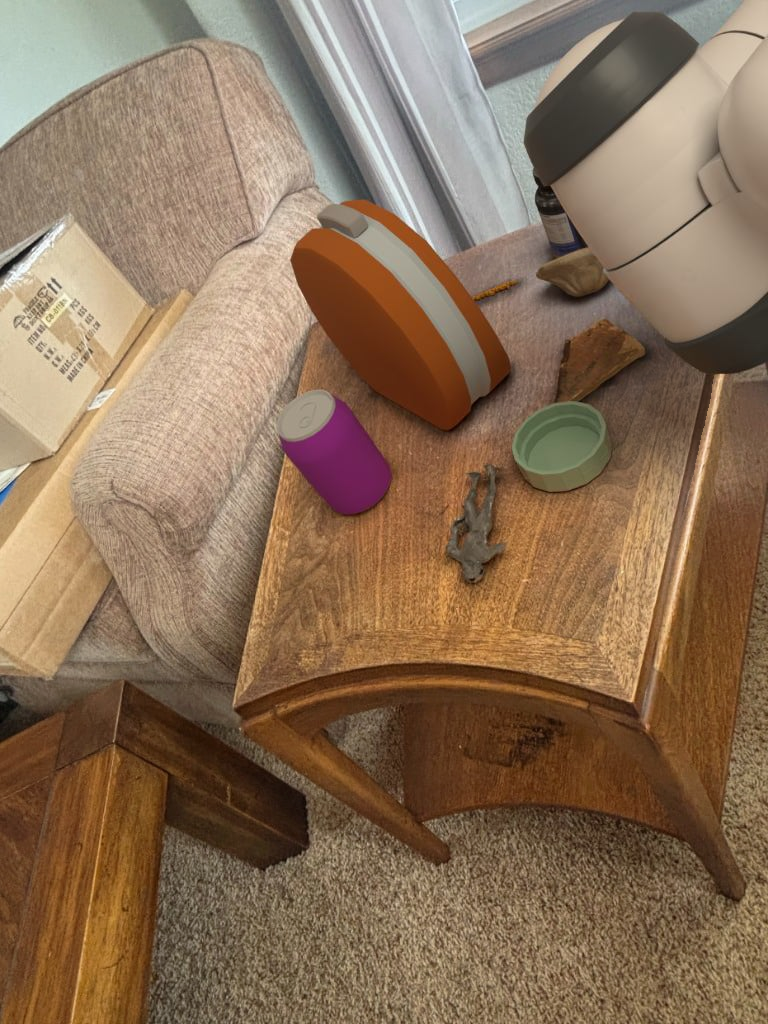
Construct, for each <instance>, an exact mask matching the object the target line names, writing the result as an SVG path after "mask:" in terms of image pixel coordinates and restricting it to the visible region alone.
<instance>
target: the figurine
mask: <svg viewBox="0 0 768 1024" xmlns="http://www.w3.org/2000/svg"><path fill="white" fill-rule="evenodd" d="M482 465H483V469H485V471H486V472H487V474H488V476H489V477H488V478H482V480H483V481H489V485H488V490H487V492H486V495H485V496H484V500H483V503H482V506H481V508H480V509H479V508H478V507H477V504H476V499H477V497H478V495H479V492H477V486H478V481H479V479H480V478H481V477H480V476H481V473H480V472H479V471H473V472H463V475H464V476H468V477H469V478H470V480H471V487H470V488H469V490H468V493H467V495H466V497H465V499H464V501H463V503H462V501H461V500H460V501H459V502H460V503H461V508H462V509H463V512H462V513H461V512H460V516H459V517H454V518H453V523H452V524H451V525H450V527H449V531H450V537H449V539H448V540H447V542H448V543H447V544H445V548H446V550H445V554H448V556H449V557H451V559H455V560H456V561H458V562H460V563H461V570H462V571H461V572H462V576H461V577H462V579H463V580H464V581H466V582H468V583H470V584H476V583H478V582H480V581H481V580H482V579H483V578H484V573H485V567H484V565H482V564H485V563H488V562H489V561H490V560H492V559H493V558H494V557H495V556H496V555H497V554H498V555H499V554H501V553H502V552H503V551H505V549H506V547H507V542H506V541H501V542H499V543H495V544H492V546H491V547H489V542H488V535H489V534H490V532H491V531H492V529H493V527H494V523H493V518H494V514H493V513H494V510H493V507H494V505H493V504H495V498H496V494H497V485H496V479H497V478H499V477H501V478H502V477H503V476H502V475H496V474H497V472H501V473H502V472H504V471H506V470H507V469H506V468H504V467H503V465H501V466H500V467H499V466H494V465H493V464H491V463H489V462H488V463H487V462H483V463H482ZM460 527H461V528H460ZM466 531H468V532H467V533H466V535H465V537H464V540H463V542H462V545H461V547H460V549H459V535H460V536H462V535H463V534H462V533H465V532H466Z"/></svg>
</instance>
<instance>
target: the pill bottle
mask: <svg viewBox="0 0 768 1024" xmlns="http://www.w3.org/2000/svg"><path fill="white" fill-rule="evenodd" d="M532 176H533V179H534V183H535V185H536V186H537V188H536V191H535V193H534V204H535V207H536V209H537V211H538V215H539V217H540V218H539V219H540V220H541V223H542V226H543V228H544V231H545V235H546V237H547V240H548V244H549V246H550V248H551V252H552V255H553V257H554V260H555V259H557V258H559V257H562V256H564V255H567V254H569V253H572V252H574V251H577V250H580V249H583V248H587V247H588V245H587V244H586V242H585V241H584V239H583V238H582V237H581V235H580V234H579V232H578V231H577V229H576V228H575V226H574V224H573V223H572V221H571V220H570V218H569V216H568V215H567V213H566V212H565V210H564V208H563V207H562V205H561V203H560V201H559V200H558V198H557V196H556V194H555V192H554V191H553V189H552V187H551V185H549V186H543V184H542V182H541V180H540V178H539V177H538V175H537V173H536V171H535V169H534V167H532Z"/></svg>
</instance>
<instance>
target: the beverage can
mask: <svg viewBox="0 0 768 1024" xmlns="http://www.w3.org/2000/svg"><path fill="white" fill-rule="evenodd" d="M276 431H277V433H278V437H279V440H280V444H281V449H282V451H283V452H284V454H285V456H286V457H287V458H288V459H289V461H290V462H291V463H292V464H293V465H294V467H296V469H297V470H298V471H299V472H300V473H301V475H302V476H303V478H305V479H306V481H307V483H309V484H310V485H311V487H313V490H315V491H316V492H317V493H318V496H320V497H321V498H322V499H323V501H324V502H325V503H326V504H327V505H328V506H329V507H330V508H331V509H332V510H334V511H335V512H336V513H339V514H343V515H352V514H353V515H354V514H359V513H362V512H364V511H367V510H369V509H371V508H372V507H373V506H375V505H376V504H377V503H379V501H380V500H382V498H383V497H384V495H385V494H386V492H387V490H388V489H389V487H390V484H391V479H392V470H391V466H390V464H389V462H388V460H387V459H386V458H385V457H384V455H383V453H382V452H381V450H380V448H378V446H377V445H376V443H375V441H373V439H372V438H371V436H370V435H369V433H368V432H367V430H366V429H365V428H364V427H363V425H362V423H361V422H360V420H359V419H358V418H357V416H356V415H355V414H354V412H353V411H352V409H351V408H350V406H349V405H348V403H347V402H345V401H344V400H342V399H340V398H339V397H336V396H335V395H333V394H332V393H330V392H329V391H327V390H325V389H312V390H308V391H306V392H303V393H301V394H299V395H298V396H296V397H295V398H293V399H292V400H291V401H289V403H288V404H286V405H285V407H283V409H282V411H281V413H280V414H279V415H278V419H277V420H276Z"/></svg>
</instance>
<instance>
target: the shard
mask: <svg viewBox="0 0 768 1024" xmlns="http://www.w3.org/2000/svg"><path fill="white" fill-rule="evenodd" d="M645 354H646V348H645V346H643V345H642V343H641V342H640V341H638V340H637V339H635V337H634V336H633V335H632V334H630V333H628V332H627V331H625V330H623V329H622V328H620V327H618V326H617V325H615V324H614V323H612V322H611V321H610V320H609V319H607V318H604V317H603V318H600V319H598V320H597V321H595V322H594V323H593V324H591V325H590V326H589V327H587V328H586V329H584V330H583V331H581V332H579V333H577V334H576V335H574V336H573V337H571V338H567V339H564V344H563V349H562V353H561V355H562V357H561V359H560V364H559V368H558V372H557V379H556V386H555V387H556V388H555V398H554V401H553V404H554V403H559V402H568V401H576V402H580V401H581V400H583V399H584V398H586V397H587V396H589V395H590V394H591V393H592V392H594V391H595V390H596V389H598V387H600V386H601V385H602V384H603V383H605V382H606V381H607V380H609V379H610V378H613V376H615V375H617V373H619V371H621V370H623V368H626V367H627V366H628V365H629V364H631V363H633V362H635V360H637V359H639V358H641V357H643V356H645Z"/></svg>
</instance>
